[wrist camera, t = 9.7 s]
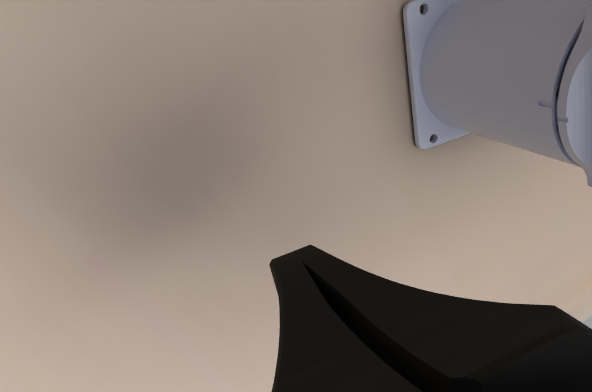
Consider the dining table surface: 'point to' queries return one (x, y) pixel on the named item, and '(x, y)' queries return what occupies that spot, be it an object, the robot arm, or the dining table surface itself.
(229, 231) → the dining table surface
